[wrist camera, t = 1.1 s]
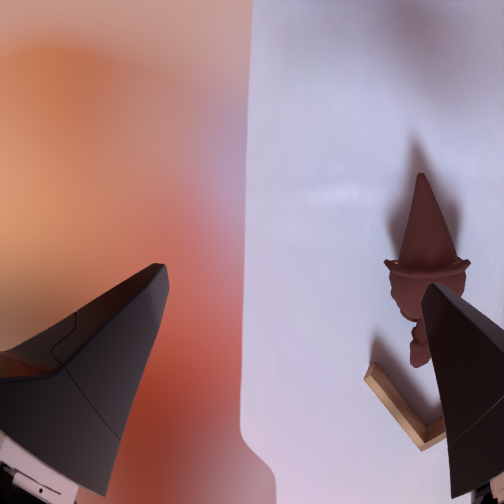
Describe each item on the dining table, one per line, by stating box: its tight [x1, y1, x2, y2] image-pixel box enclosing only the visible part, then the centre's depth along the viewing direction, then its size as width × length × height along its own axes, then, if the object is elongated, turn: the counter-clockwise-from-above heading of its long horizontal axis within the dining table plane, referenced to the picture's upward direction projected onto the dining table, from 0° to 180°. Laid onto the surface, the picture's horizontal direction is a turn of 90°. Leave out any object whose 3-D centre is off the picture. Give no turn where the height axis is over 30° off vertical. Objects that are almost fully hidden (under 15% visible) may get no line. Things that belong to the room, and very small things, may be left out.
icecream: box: [384, 173, 471, 368], centre depth 20 cm, size 7×7×15 cm
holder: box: [363, 362, 447, 452], centre depth 18 cm, size 11×20×3 cm, turn 134°
